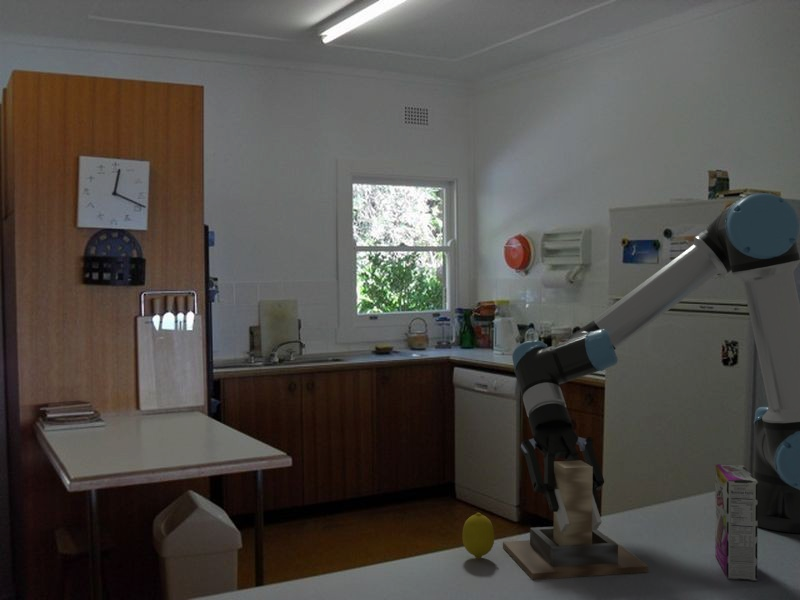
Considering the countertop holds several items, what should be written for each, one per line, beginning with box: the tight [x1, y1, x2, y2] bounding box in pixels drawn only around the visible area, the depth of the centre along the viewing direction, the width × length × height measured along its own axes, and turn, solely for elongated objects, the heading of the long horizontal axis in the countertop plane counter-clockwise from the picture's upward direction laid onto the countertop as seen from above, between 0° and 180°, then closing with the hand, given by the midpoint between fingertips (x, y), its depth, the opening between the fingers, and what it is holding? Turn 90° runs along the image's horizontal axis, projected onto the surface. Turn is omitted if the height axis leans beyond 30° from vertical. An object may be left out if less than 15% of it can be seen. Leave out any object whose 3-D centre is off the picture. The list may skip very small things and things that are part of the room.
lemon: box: [461, 512, 495, 560], centre depth 141 cm, size 6×6×8 cm
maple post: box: [553, 459, 593, 546], centre depth 140 cm, size 5×5×14 cm
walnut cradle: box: [502, 526, 649, 581], centre depth 141 cm, size 20×16×4 cm
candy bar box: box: [714, 463, 759, 582], centre depth 136 cm, size 11×5×16 cm, turn 168°
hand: (581, 526), depth 137 cm, fingers closed on maple post, 5 cm apart
